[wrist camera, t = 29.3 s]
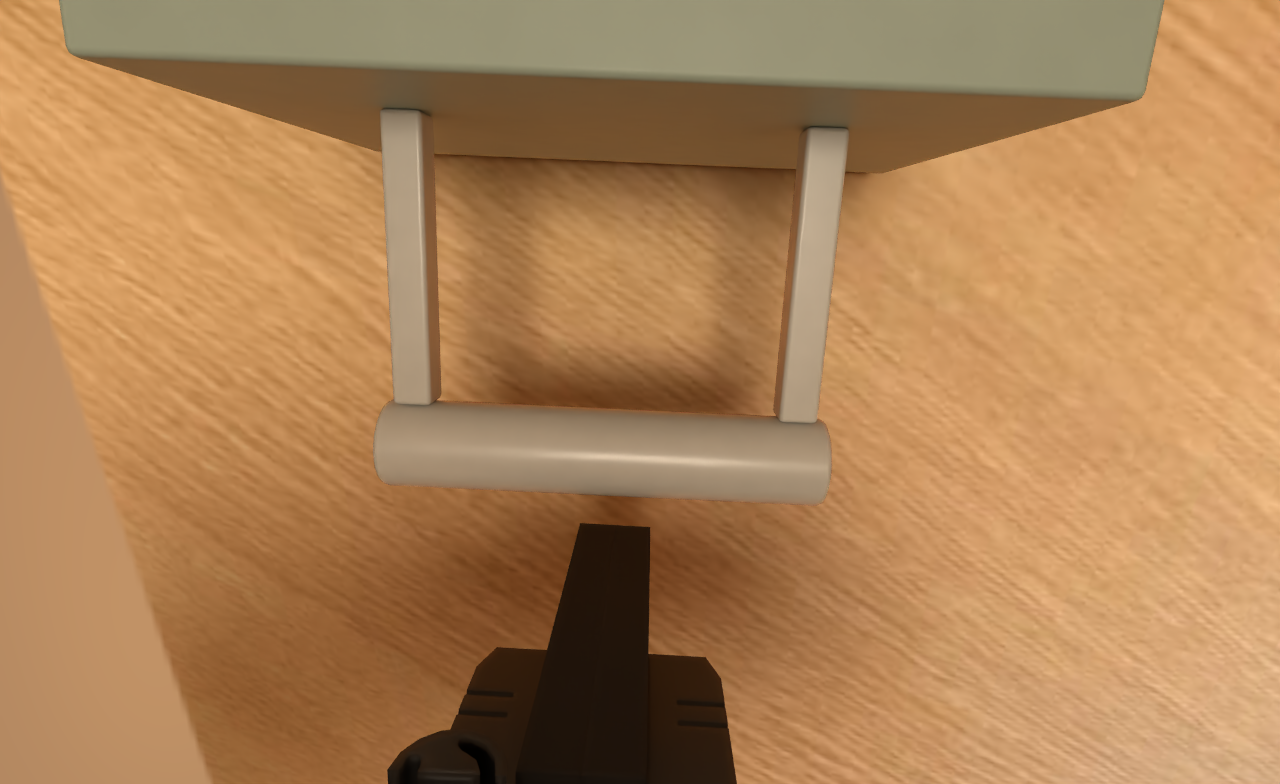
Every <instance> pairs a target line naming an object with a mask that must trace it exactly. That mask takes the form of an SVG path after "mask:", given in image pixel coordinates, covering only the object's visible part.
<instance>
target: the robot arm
mask: <svg viewBox="0 0 1280 784" xmlns="http://www.w3.org/2000/svg"><path fill="white" fill-rule="evenodd" d="M649 575H650V527H637V526H620V525H602V524H584V523H580V526H579V530H578V534H577V538H576V541H575V545H574V549H573V553H572V557H571V561H570V565H569V568H568V572H567V576H566V580H565V584H564V588H563V591H562V595H561V599H560V603H559V607H558V611H557V614H556V618H555V622H554V626H553V630H552V634H551V637H550V641H549V645H548V649H547V650H535V649H518V648H501V647H497V648H496V649H495V650H494V651H493V652H492V653H491V654H489V655H488V656H487V657H486V658H485V659H484V660H483V661H482V662H481V663H480V664H479V665H478V666H477V667H476V669H475V672H474V674H473V677H472V679H471V681H470V684H469V686H468V689H467V694H466V695H465V696H464V698H463V701H462V703H461V706H460V708H459V713H458V715H456V718H455V720H454V722H453V725H452V727H451V730H445V731H440V732H437V733H434V734H431V735H429V736H426V737H423V738H420V739H419V740H417V741H416V742H414V743H413V744H412V745H410V746H409V747H407V748H406V749H404V750H403V751H402V752H400V754H399V755H398V756H397V758H396V759H395V760H394V762H393V763H392V764H391V766H390V767H389V768H388V770H387V771H388V784H737V782H736V775H735V769H734V762H733V755H732V749H731V742H730V735H729V729H728V722H727V715H726V709H725V702H724V695H723V689H722V682H721V678H720V677H719V675H718V674H717V672H716V671H715V670H714V668H713V667H712V666H711V664H710V663H709V661H708V660H707V659H706V657H691V656H674V655H657V654H648V640H649Z"/></svg>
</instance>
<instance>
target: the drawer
mask: <svg viewBox="0 0 1280 784" xmlns="http://www.w3.org/2000/svg"><path fill="white" fill-rule="evenodd" d="M59 3H60V10H61V17H62V23H63V30H64V36H65V43H66V47H67V49H68V51H69V52H70V53H71V54H72V55H74V56H76V57H79V58H81V59H85V60H88V61H91V62H94V63H97V64H101V65H104V66H107V67H110V68H113V69H116V70H120V71H123V72H126V73H129V74H132V75H136V76H139V77H142V78H145V79H148V80H151V81H155V82H158V83H161V84H164V85H167V86H171V87H174V88H177V89H180V90H183V91H187V92H190V93H193V94H196V95H199V96H202V97H206V98H209V99H212V100H215V101H218V102H222V103H225V104H228V105H231V106H234V107H237V108H241V109H244V110H247V111H250V112H253V113H257V114H260V115H263V116H266V117H269V118H273V119H276V120H279V121H282V122H285V123H288V124H292V125H295V126H298V127H301V128H304V129H308V130H311V131H314V132H317V133H320V134H324V135H327V136H330V137H333V138H336V139H339V140H343V141H346V142H349V143H352V144H355V145H359V146H362V147H365V148H368V149H371V150H374V151H382V165H383V186H384V207H385V228H386V248H387V269H388V290H389V311H390V332H391V353H392V373H393V394H394V400H391V401H389V402H388V403H386V405H385V406H384V407H383V409H382V411H381V413H380V415H379V417H378V420H377V424H376V428H375V434H374V443H373V456H374V464H375V469H376V472H377V475H378V477H379V478H380V480H381V481H382V482H384V483H386V484H388V485H397V486H418V487H439V488H459V489H480V490H501V491H521V492H542V493H563V494H583V495H604V496H625V497H646V498H666V499H687V500H708V501H728V502H749V503H770V504H790V505H811V506H816V505H819V504H821V503H822V502H823V501H824V499H825V497H826V495H827V492H828V489H829V485H830V480H831V471H832V449H831V441H830V436H829V432H828V429H827V426H826V424H825V423H824V422H823V421H822V420H820V419H817V418H818V409H819V400H820V391H821V382H822V373H823V364H824V355H825V346H826V337H827V328H828V320H829V311H830V302H831V293H832V284H833V275H834V266H835V257H836V248H837V239H838V230H839V221H840V213H841V204H842V195H843V186H844V177H845V172H867V173H884V172H888V171H891V170H895V169H898V168H902V167H905V166H909V165H913V164H916V163H920V162H923V161H927V160H930V159H934V158H937V157H941V156H944V155H948V154H951V153H955V152H958V151H962V150H965V149H969V148H972V147H976V146H979V145H983V144H987V143H990V142H994V141H997V140H1001V139H1004V138H1008V137H1011V136H1015V135H1018V134H1022V133H1025V132H1029V131H1032V130H1036V129H1039V128H1043V127H1046V126H1050V125H1054V124H1057V123H1061V122H1064V121H1068V120H1071V119H1075V118H1078V117H1082V116H1085V115H1089V114H1092V113H1096V112H1099V111H1103V110H1106V109H1110V108H1113V107H1117V106H1121V105H1124V104H1128V103H1131V102H1134V101H1137V100H1139V99H1140V98H1142V96H1143V94H1144V93H1145V90H1146V85H1147V81H1148V76H1149V71H1150V66H1151V62H1152V57H1153V52H1154V47H1155V42H1156V38H1157V33H1158V28H1159V23H1160V19H1161V14H1162V9H1163V4H1164V0H59ZM434 154H452V155H475V156H499V157H522V158H545V159H568V160H591V161H614V162H637V163H660V164H683V165H706V166H729V167H752V168H775V169H796V176H795V187H794V197H793V208H792V218H791V229H790V239H789V250H788V260H787V271H786V281H785V292H784V302H783V313H782V323H781V334H780V344H779V355H778V365H777V376H776V386H775V397H774V407H773V410H774V413H775V415H776V416H758V415H736V414H715V413H694V412H673V411H651V410H630V409H609V408H588V407H566V406H545V405H524V404H503V403H481V402H460V401H439V400H437V399H438V398H440V396H441V368H440V335H439V301H438V268H437V235H436V202H435V168H434Z"/></svg>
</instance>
